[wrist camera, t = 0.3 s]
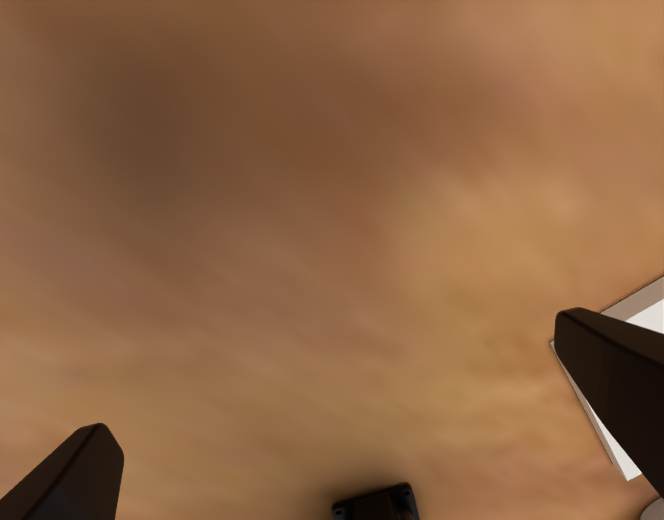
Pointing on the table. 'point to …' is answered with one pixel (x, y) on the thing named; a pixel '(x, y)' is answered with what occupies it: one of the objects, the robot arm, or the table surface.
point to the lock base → (643, 310)
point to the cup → (654, 511)
